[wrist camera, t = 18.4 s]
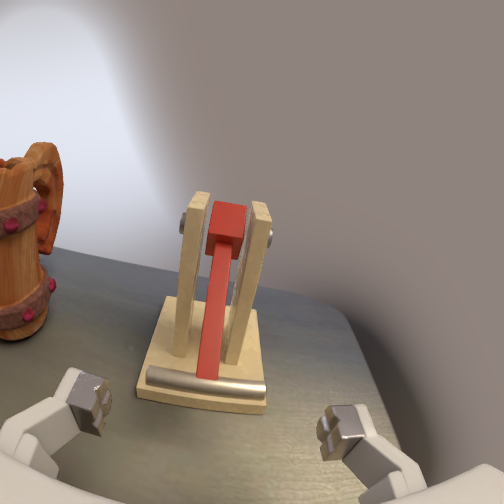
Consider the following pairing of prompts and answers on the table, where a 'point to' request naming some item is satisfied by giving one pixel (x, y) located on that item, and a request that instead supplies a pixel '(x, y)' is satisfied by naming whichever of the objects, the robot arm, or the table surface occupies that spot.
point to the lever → (214, 317)
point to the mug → (27, 237)
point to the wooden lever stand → (192, 313)
